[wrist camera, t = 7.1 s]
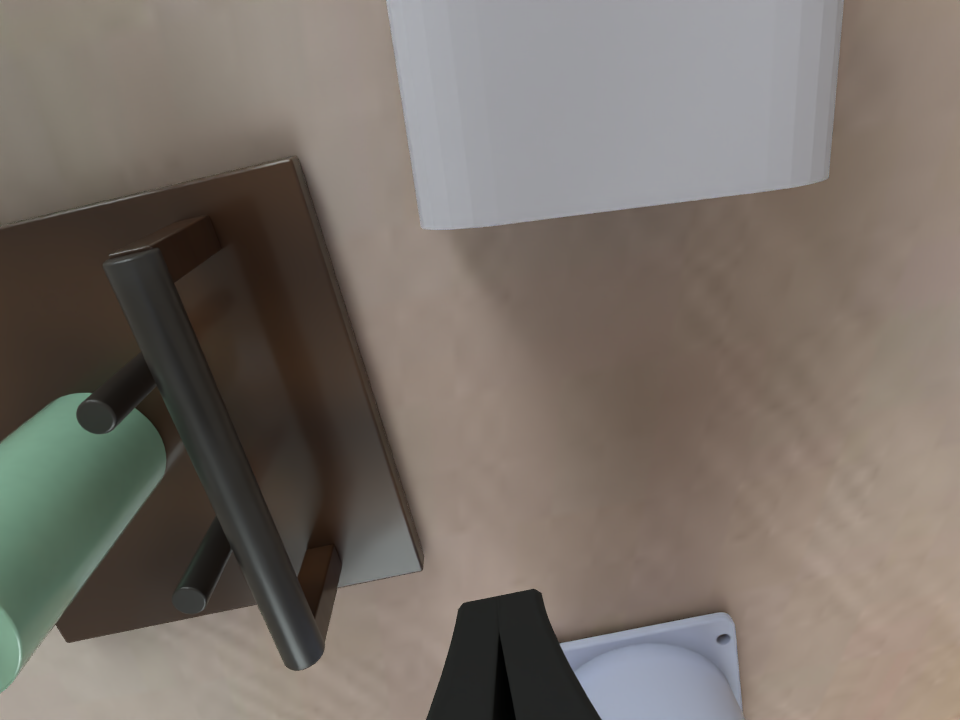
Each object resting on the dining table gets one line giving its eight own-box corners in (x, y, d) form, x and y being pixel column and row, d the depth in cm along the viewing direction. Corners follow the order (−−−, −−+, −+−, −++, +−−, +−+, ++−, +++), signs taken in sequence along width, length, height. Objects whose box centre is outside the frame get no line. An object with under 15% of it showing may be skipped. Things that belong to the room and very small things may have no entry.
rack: (424, 556, 23) (417, 681, 18) (78, 627, 24) (-18, 766, 19) (297, 154, 18) (239, 180, 13) (-145, 259, 19) (-361, 321, 14)
